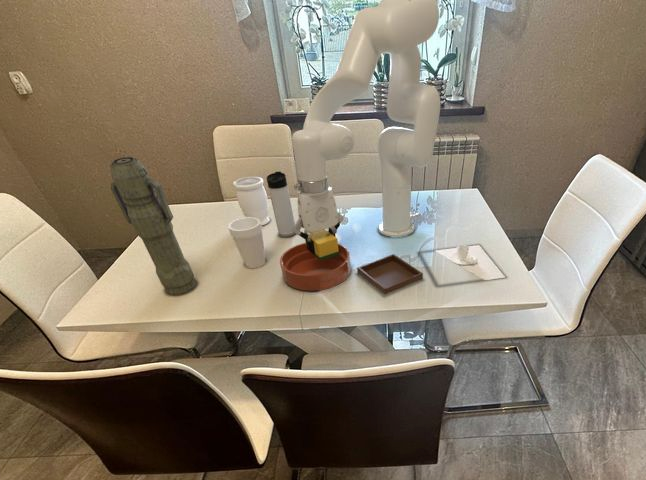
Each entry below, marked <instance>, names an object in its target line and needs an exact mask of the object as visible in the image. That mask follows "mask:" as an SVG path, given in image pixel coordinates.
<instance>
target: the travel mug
mask: <svg viewBox="0 0 646 480" xmlns="http://www.w3.org/2000/svg"><path fill="white" fill-rule="evenodd" d="M266 182H267V188H268V193H269V197H270V202H271V205H272V210H273V215H274V219H275V223H276V228H277V232H278V236H279V237H281V238H291V237H294V236H295V235H297V234H296V233H294V232H293V228H294V226H295V225H296V223H295V217H294V211H293V207H292V201H291V197H290V192H289V191H290V190H289V186H288V182H287V176H286V174H285V173H284V172H282V171H275V172H274V173H273V172H272V173H270V174H268V175H266Z"/></svg>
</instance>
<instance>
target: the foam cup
mask: <svg viewBox="0 0 646 480" xmlns="http://www.w3.org/2000/svg"><path fill="white" fill-rule="evenodd" d="M227 227H228V231H229V234H230V236H231V237H232V240H233V241H234V244H235V246H236V248H237V251H238V252H239V254H240V256H241V258H242V260H243V263H244V265H245V267H246V268H249V269H256V268H260V267H262V266H263V265H265V264H266V253H265V244H264V237H263V225H262V226H261V222H260V219H258V218H255V217H245V216H244V217H240V218H237V219H234V220H232V221H231V222H229V223H228V225H227Z"/></svg>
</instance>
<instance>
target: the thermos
mask: <svg viewBox="0 0 646 480" xmlns="http://www.w3.org/2000/svg"><path fill="white" fill-rule="evenodd" d="M109 166H110V172H111V178H112V180H113V181H112V182H111V185H110V191H111V192H112V194H113V197H114V199H115V200H116V202H117V205H118V206H119V209H120V211H121V213H122V214H123V216H124V218H125V219H126V222H127V223H128V224H130V225H132V227H133V229H134V231H135V233H136V235H137V236H138V237H139V238H140V239H141V240H142V242H143V244H144V247H145V249H146V251H147V252H148V254H149V257H150V259H151V261H152V263H153V265H154V267H155V273H156V275H157V278H158V279H159V281H160V284H161V285H162V287H163V288H164V290H165V292H166V293H167V295H169V296H175V297H176V296H183V295H186V294H187V293H190V292H192V291H193V290H195V289H196V288H197V285H198V284H197V281H196V279H195V275H194V272H193V269H192V267H191V264H190V263H189V261H188V260H187V259H186V258H185V256H184V254H183V252H182V249H181V246H180V244H179V242H178V239H177V236H176V235H175V231H174V225H173V223H172V221H173V219H174V215H173V213H172V211H171V208H170V205H169V203H168V200H167V198H166V195H165V192H164V189H163V187H162V185H161V184H160V183H159V182H158V181H157V180H156V179H151V177H150V175H149V173H148V170H147V169H146V168H145V165H143V164H142V162H141V161H140V160H139V159H138V158H135V157H133V156H125V157H120V158H117V159H114V160H112V162H111V163H110V164H109Z"/></svg>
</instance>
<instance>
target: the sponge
mask: <svg viewBox="0 0 646 480" xmlns="http://www.w3.org/2000/svg"><path fill="white" fill-rule="evenodd" d="M328 231H329V230H326V229H323V230H320V231H317V232H313V235H312V241H313V242H314V249H315V254H313V255H315V256H316V257H317V258H318V259H319V260H320V261H321V260H324V259H327V258H330V257H333V256H336V255H339V250H338V244H339V242H338V241H339V240H338V238H337V236H336V235H335V236H336V237H335V236H333V235H332V234H331V233H329V232H328ZM304 241H305V242H304V243H306V240H305V239H304ZM306 248H307V246H306Z"/></svg>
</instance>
